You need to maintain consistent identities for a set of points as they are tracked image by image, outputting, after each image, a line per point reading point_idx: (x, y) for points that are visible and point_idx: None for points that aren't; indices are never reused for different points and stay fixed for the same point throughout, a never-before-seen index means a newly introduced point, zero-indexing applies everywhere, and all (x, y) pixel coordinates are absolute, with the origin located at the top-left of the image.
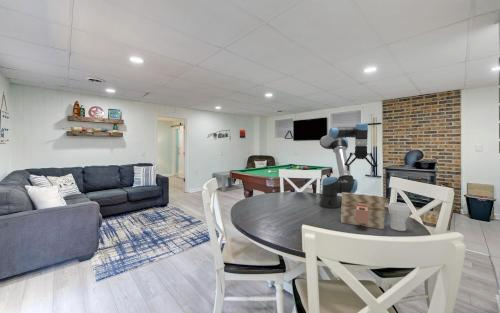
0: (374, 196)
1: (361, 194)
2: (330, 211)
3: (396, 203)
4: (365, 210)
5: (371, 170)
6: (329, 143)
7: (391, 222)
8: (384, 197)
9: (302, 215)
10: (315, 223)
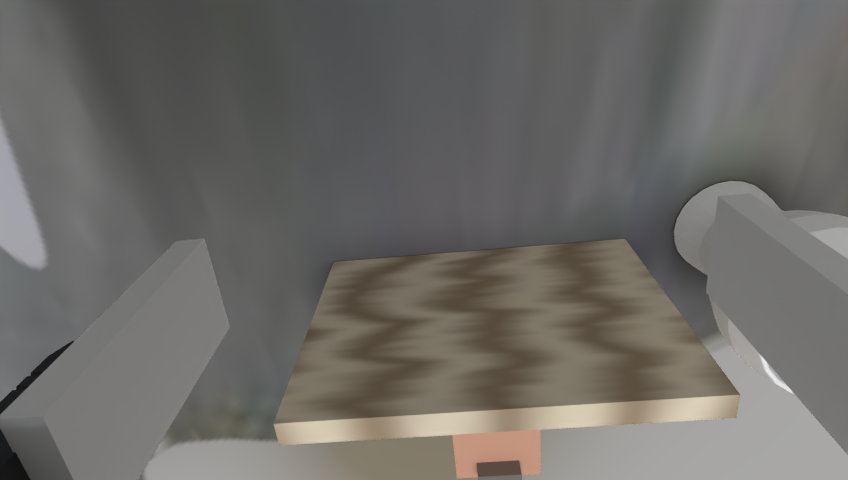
0: (629, 419)
1: (492, 422)
2: (178, 82)
3: (841, 254)
4: (523, 470)
5: (822, 409)
6: None
7: (695, 247)
8: (732, 413)
9: (53, 311)
10: (209, 403)
